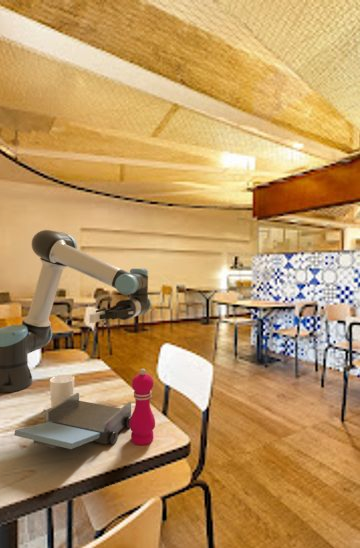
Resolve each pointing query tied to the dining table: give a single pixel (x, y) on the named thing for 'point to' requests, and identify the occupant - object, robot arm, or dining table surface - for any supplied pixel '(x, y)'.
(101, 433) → the cart bed
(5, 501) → the dining table surface
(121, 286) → the robot arm
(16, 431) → the panel
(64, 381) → the white cup
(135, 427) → the pepper mill
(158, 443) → the dining table surface
